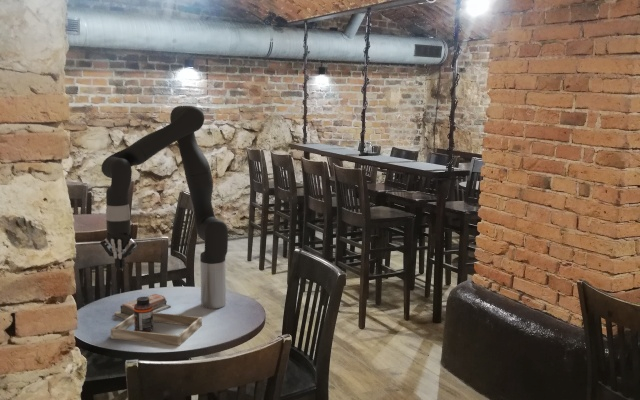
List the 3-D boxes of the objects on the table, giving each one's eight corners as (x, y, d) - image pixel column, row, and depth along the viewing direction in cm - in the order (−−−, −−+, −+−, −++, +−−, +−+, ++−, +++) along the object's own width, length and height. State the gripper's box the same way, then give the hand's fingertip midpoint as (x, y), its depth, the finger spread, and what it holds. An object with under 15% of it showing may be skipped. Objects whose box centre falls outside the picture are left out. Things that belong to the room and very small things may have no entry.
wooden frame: (137, 319, 226) (137, 311, 226) (201, 325, 221) (201, 317, 221) (111, 338, 209) (110, 329, 208) (179, 345, 204) (179, 336, 203)
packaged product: (152, 291, 244) (170, 296, 238) (152, 303, 244) (171, 308, 239) (113, 303, 229) (131, 309, 223) (113, 316, 230) (132, 322, 224)
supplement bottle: (133, 328, 218) (132, 296, 216) (151, 326, 220) (150, 294, 218) (136, 334, 212) (134, 301, 210) (154, 332, 215) (153, 299, 213)
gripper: (142, 217, 213) (143, 267, 216) (106, 214, 216) (107, 264, 219) (131, 221, 206) (132, 273, 209) (93, 218, 209) (95, 270, 212)
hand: (120, 268), depth 214 cm, fingers closed
